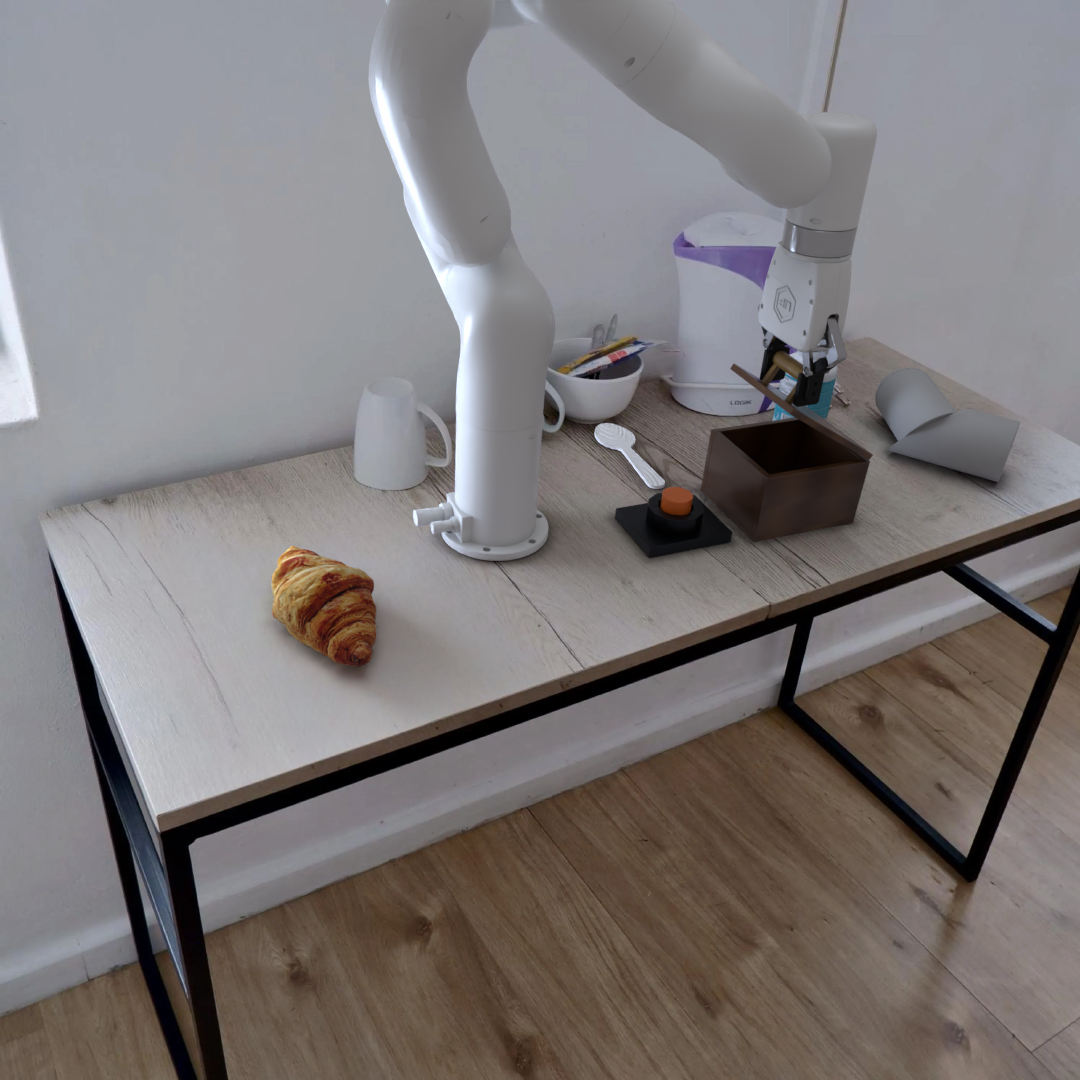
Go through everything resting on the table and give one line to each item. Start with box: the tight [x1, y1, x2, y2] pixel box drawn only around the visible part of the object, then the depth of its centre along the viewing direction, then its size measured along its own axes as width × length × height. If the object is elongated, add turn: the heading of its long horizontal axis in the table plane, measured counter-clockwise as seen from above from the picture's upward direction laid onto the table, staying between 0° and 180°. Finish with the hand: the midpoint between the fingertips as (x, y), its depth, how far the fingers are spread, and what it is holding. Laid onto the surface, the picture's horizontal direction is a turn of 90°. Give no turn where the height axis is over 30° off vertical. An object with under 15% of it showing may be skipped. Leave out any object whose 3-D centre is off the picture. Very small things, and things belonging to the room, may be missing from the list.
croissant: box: [271, 545, 377, 668], centre depth 102 cm, size 21×10×8 cm, turn 32°
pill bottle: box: [771, 342, 839, 421], centre depth 142 cm, size 8×7×14 cm
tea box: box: [700, 417, 871, 543], centre depth 125 cm, size 15×13×9 cm
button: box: [660, 486, 694, 516], centre depth 119 cm, size 4×4×2 cm
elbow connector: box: [874, 366, 1021, 483], centre depth 141 cm, size 18×10×20 cm
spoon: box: [594, 422, 666, 490], centre depth 136 cm, size 5×18×1 cm, turn 21°
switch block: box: [614, 492, 733, 559], centre depth 120 cm, size 11×9×4 cm
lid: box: [729, 351, 874, 461], centre depth 120 cm, size 15×13×5 cm
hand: (788, 390), depth 118 cm, fingers closed on lid, 6 cm apart
